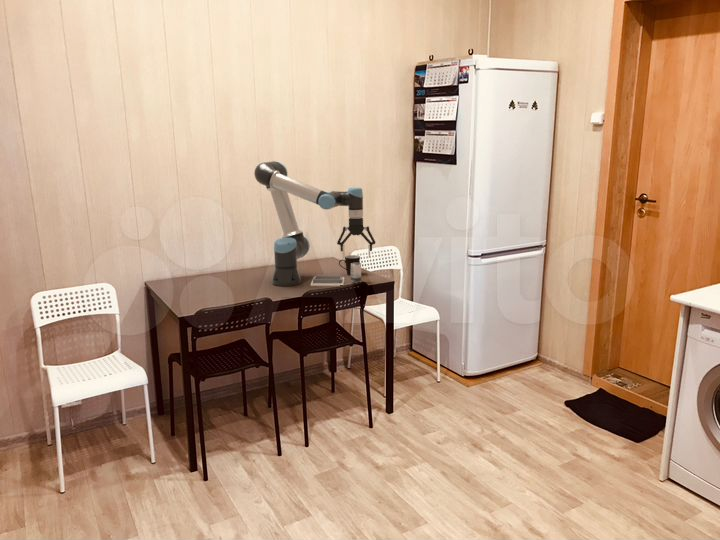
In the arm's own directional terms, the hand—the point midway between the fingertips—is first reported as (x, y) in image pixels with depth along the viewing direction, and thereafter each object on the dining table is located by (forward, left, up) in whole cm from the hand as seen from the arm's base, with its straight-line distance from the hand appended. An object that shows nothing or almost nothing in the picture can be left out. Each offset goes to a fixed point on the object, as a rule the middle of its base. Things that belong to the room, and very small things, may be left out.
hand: (356, 257), depth 304 cm
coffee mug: (-4, +18, -14) cm, 23 cm away
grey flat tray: (-15, -1, -13) cm, 20 cm away
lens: (0, 0, -14) cm, 14 cm away
